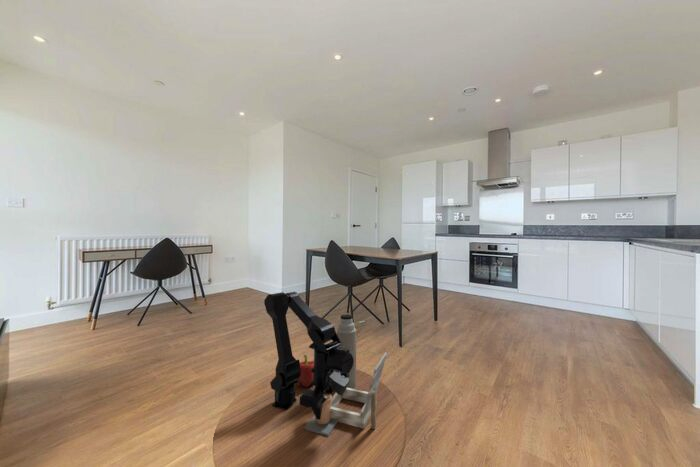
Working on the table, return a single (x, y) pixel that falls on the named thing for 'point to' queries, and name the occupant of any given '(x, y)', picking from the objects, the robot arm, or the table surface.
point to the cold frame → (359, 396)
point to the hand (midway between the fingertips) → (322, 414)
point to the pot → (325, 409)
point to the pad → (321, 426)
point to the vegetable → (306, 373)
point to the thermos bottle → (348, 343)
